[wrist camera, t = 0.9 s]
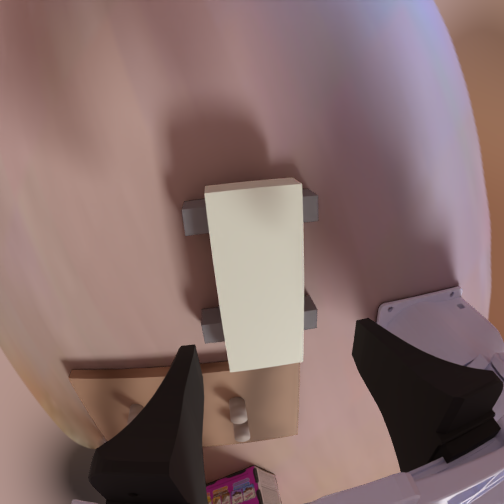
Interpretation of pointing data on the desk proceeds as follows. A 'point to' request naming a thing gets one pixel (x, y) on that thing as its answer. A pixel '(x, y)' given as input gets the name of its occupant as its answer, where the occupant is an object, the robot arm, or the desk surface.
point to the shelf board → (259, 270)
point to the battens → (198, 224)
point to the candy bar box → (245, 488)
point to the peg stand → (215, 400)
